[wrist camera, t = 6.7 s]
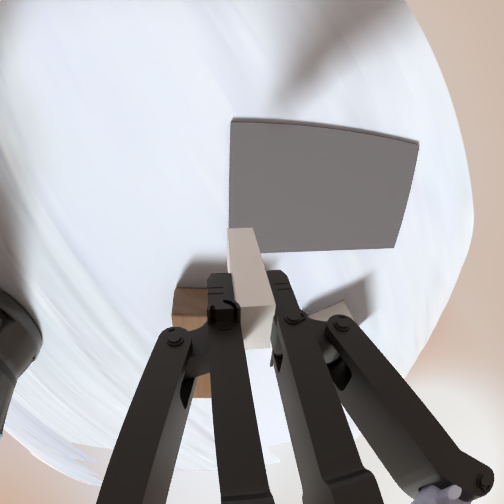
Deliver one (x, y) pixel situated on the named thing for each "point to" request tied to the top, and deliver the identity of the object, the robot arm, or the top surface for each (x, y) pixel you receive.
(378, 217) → the charcoal mat
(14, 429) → the top surface
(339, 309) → the smooth beige box
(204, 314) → the wooden block
